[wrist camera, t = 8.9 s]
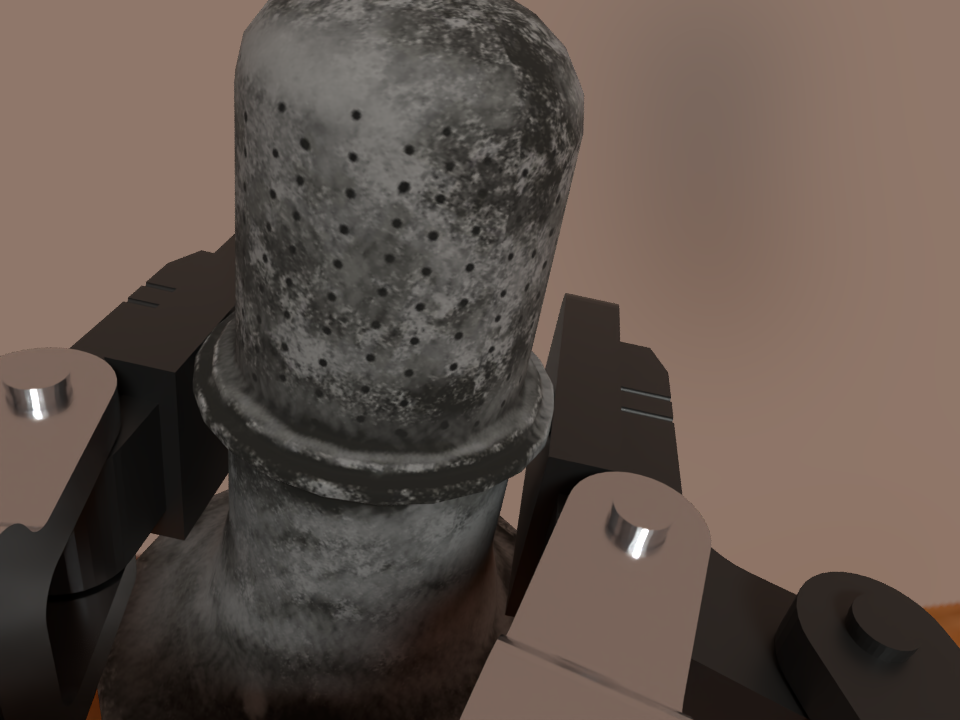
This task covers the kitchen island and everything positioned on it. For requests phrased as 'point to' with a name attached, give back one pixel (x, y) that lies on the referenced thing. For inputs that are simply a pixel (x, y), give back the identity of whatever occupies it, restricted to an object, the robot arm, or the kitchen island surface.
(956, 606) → the kitchen island surface
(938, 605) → the kitchen island surface
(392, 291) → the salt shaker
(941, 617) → the kitchen island surface
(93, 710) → the kitchen island surface
